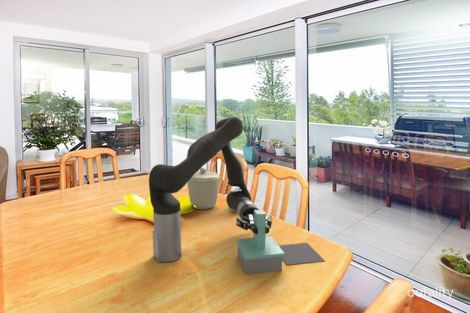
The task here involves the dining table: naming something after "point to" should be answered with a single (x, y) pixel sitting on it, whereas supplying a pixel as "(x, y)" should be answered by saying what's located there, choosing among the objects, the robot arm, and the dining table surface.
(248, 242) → the lid
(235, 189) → the light bulb box
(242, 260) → the tub
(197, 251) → the dining table surface
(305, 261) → the mat
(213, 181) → the canister
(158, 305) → the dining table surface
